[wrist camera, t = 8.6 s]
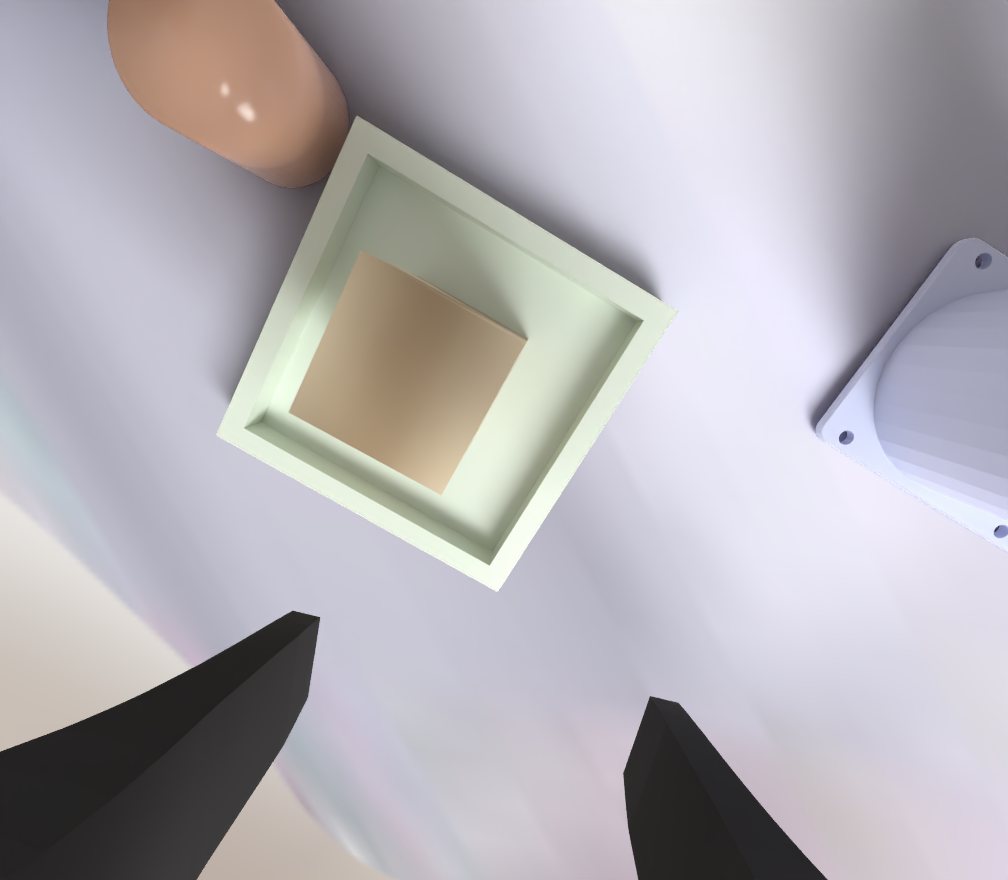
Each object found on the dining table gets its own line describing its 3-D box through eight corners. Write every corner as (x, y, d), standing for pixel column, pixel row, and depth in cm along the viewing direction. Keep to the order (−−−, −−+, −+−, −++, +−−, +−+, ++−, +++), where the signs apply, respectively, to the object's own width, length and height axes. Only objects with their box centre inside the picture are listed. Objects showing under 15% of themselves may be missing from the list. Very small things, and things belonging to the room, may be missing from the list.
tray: (664, 313, 18) (678, 311, 16) (500, 569, 20) (497, 592, 19) (374, 137, 17) (356, 114, 15) (244, 426, 20) (215, 435, 18)
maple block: (528, 339, 18) (525, 343, 12) (470, 443, 19) (441, 495, 13) (419, 276, 18) (361, 250, 12) (366, 386, 19) (288, 412, 13)
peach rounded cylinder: (370, 91, 17) (303, -5, 12) (317, 211, 18) (236, 167, 13) (256, 21, 17) (141, -106, 12) (209, 147, 18) (84, 77, 13)
